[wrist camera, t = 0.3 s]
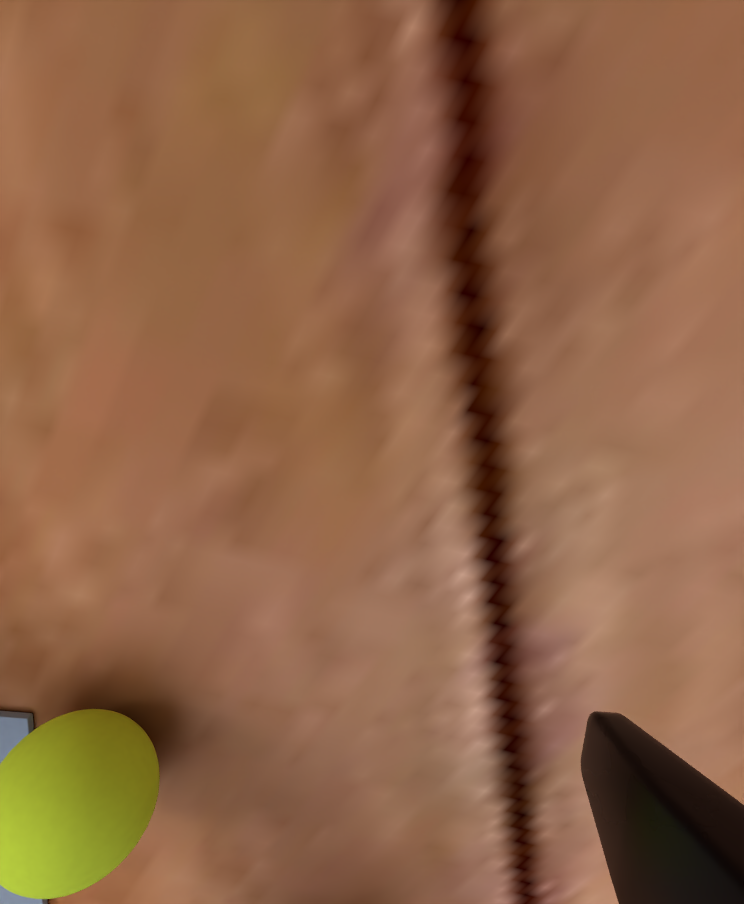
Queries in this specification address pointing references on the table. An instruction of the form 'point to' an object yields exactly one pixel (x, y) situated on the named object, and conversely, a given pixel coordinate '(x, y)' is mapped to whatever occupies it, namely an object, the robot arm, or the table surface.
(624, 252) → the table surface
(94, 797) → the ball
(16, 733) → the mat
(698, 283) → the table surface
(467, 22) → the table surface
